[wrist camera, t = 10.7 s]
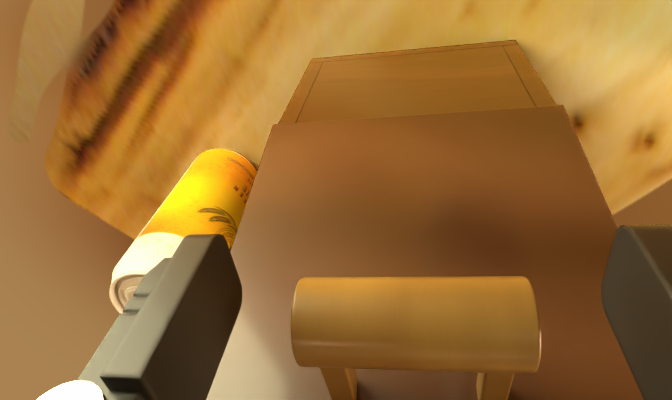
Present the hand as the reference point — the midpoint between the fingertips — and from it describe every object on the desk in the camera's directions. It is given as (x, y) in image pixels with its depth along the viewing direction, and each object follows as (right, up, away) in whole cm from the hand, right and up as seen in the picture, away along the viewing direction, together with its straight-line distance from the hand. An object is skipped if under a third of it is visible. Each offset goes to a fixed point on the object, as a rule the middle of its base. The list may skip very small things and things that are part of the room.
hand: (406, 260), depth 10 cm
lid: (+1, -1, +8) cm, 8 cm away
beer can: (-11, +4, +30) cm, 33 cm away
